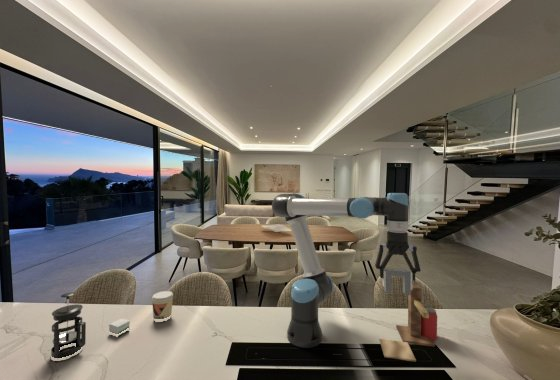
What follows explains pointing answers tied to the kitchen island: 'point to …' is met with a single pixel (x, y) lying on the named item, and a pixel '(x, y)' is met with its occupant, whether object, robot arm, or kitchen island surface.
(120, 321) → the small box
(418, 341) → the stand
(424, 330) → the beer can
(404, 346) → the coaster
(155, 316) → the coffee cup
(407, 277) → the gray arch block
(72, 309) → the french press
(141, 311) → the kitchen island surface
